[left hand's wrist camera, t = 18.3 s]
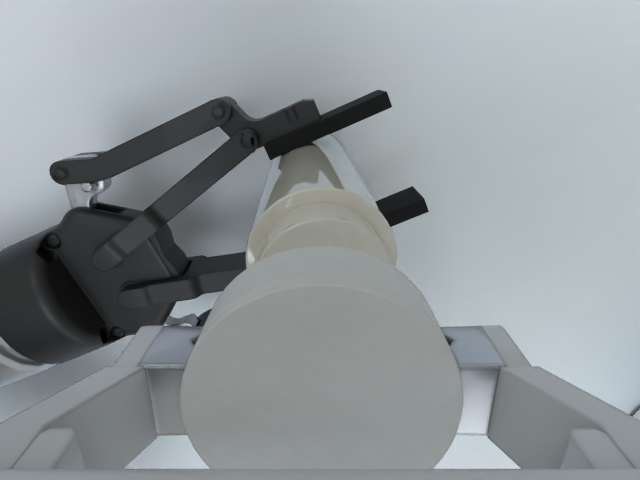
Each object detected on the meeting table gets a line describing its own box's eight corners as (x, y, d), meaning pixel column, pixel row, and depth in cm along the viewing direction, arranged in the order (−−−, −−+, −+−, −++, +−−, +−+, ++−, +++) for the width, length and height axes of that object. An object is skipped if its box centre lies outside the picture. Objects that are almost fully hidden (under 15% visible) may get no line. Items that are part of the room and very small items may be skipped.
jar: (258, 168, 30) (203, 292, 13) (307, 111, 28) (318, 164, 11) (312, 215, 31) (329, 383, 14) (361, 163, 30) (444, 277, 13)
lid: (405, 457, 11) (421, 528, 10) (194, 427, 11) (170, 495, 9) (468, 267, 10) (503, 311, 8) (216, 224, 9) (190, 259, 7)
